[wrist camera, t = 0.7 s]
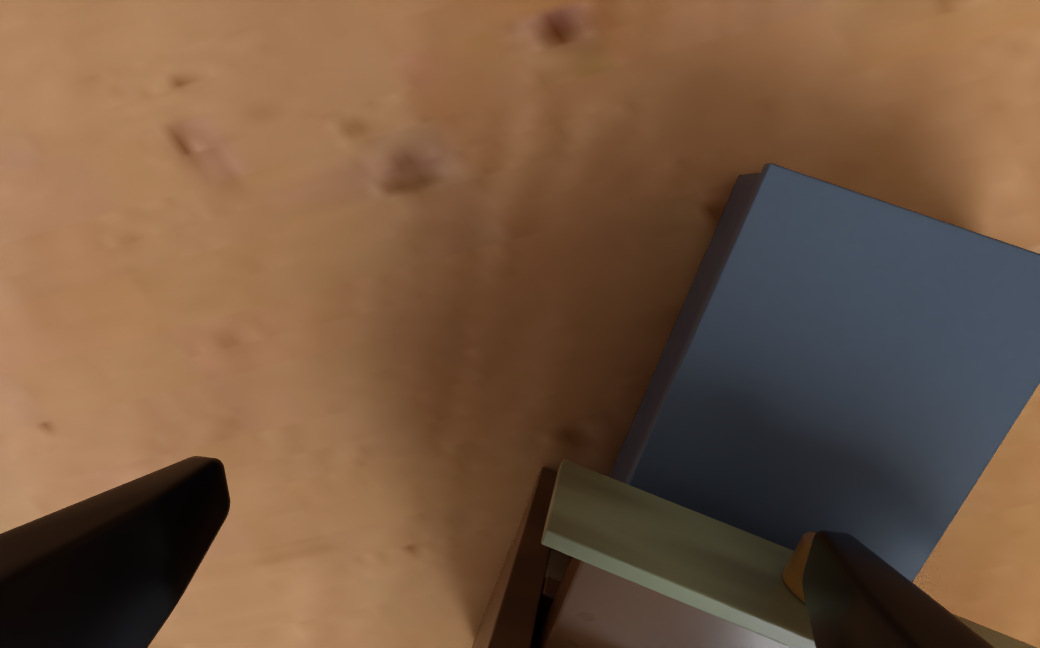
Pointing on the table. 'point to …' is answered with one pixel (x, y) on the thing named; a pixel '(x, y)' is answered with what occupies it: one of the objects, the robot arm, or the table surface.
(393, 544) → the table surface
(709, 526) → the drawer
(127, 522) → the robot arm
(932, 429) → the storage box
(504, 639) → the drawer unit
